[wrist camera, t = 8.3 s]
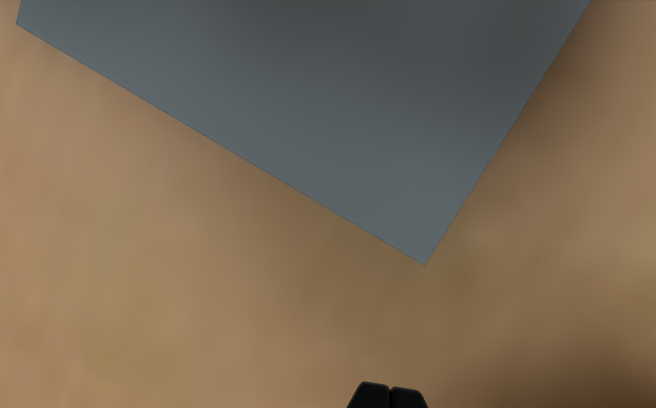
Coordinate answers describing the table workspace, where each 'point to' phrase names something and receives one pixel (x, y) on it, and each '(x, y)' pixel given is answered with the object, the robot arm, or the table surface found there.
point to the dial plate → (332, 89)
